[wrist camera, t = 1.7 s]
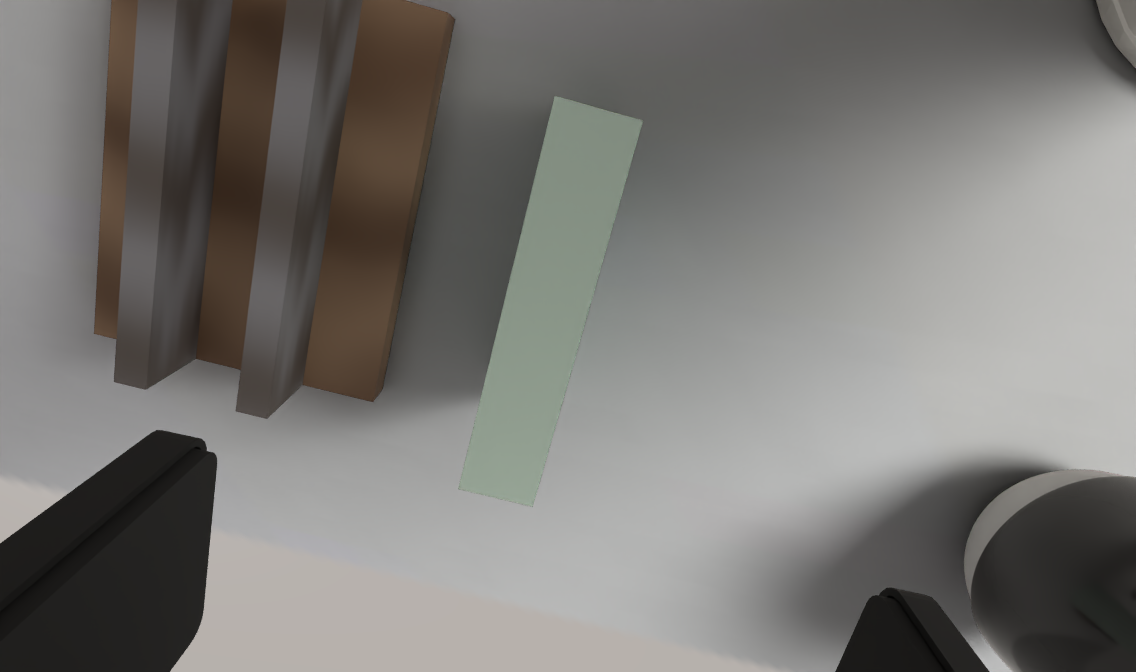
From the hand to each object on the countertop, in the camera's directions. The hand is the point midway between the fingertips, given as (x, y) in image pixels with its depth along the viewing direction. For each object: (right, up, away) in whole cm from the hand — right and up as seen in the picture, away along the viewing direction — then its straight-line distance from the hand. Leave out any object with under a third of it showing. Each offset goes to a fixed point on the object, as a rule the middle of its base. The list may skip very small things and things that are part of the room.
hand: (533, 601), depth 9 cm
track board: (-12, +10, +18) cm, 24 cm away
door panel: (0, +7, +19) cm, 21 cm away
